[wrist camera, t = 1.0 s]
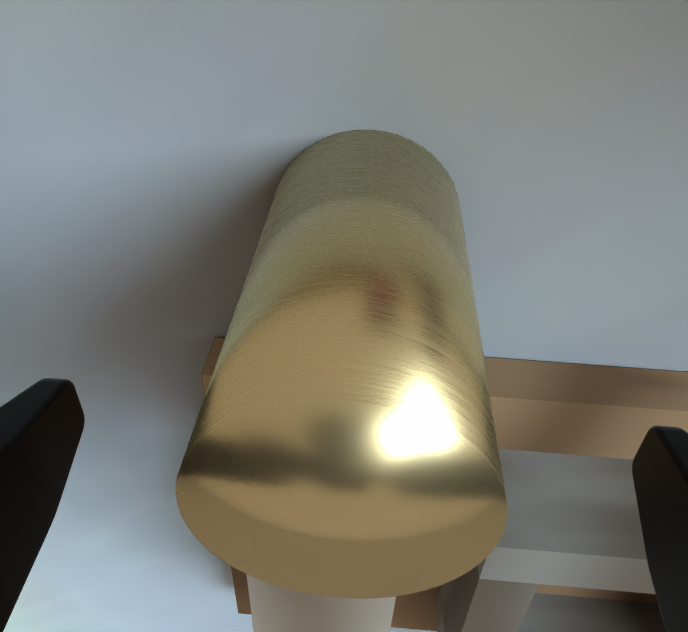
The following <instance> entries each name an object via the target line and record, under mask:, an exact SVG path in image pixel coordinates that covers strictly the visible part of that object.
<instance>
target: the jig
mask: <svg viewBox="0 0 688 632" xmlns="http://www.w3.org/2000/svg"><path fill="white" fill-rule="evenodd" d="M224 341H225V338H218V337H215V339H214V342H213V344H212V347H211V350H210V352H209V355H208V358H207V361H206V363H205V366H204V369H203V371H202V374H201V376H202V382H203V388H204V395H206V392H207V389H208V387H209V384H210V381H211V378H212V375H213V372H214V369H215V366H216V364H217V361H218V358H219V355H220V352H221V349H222V346H223V343H224ZM484 361H485V367H486V373H487V379H488V386H489V392H490V398H491V405H492V411H493V417H494V423H495V430H496V436H497V442H498V449H499V455H500V461H501V467H502V474H503V480H504V486H505V493H506V499H507V522H506V526H505V530H504V532H503V535H502V537H501V539H500V541H499V543H498V544H497V545H496V547H495V548H494V550H493V551H492V552H491V553H490V554H489V555H488V556H487V557H486V558H485V559H484V560H483V561H482V562H481V563H480V564H479V565H477V566H476V567H474V568H473V569H472V570H470V571H469V572H467V573H465V574H464V575H462V576H460V577H458V578H456V579H454V580H452V581H450V582H447V583H445V584H443V585H440V586H437V587H434V588H431V589H428V590H425V591H420V592H416V593H412V594H407V595H400V596H394V597H384V598H370V599H351V598H334V597H326V596H318V595H312V594H307V593H302V592H297V591H293V590H289V589H285V588H281V587H278V586H275V585H272V584H269V583H266V582H264V581H261V580H259V579H257V578H254V577H252V576H249V575H247V574H245V573H243V572H241V571H240V570H238V569H236V568H234V567H232V566H231V569H232V575H233V581H234V588H235V594H236V601H237V607H238V613H242V614H252V621H253V629H254V632H390V628H391V627H397V628H409V629H420V630H431V631H437V632H666V628H665V625H664V621H663V618H662V614H661V611H660V607H659V604H658V600H657V597H656V593H655V590H654V586H653V583H652V579H651V575H650V571H649V568H648V563H647V558H646V552H645V547H644V541H643V535H642V529H641V523H640V517H639V511H638V505H637V499H636V493H635V487H634V481H633V475H632V463H633V459H634V457H635V455H636V453H637V451H638V449H639V447H640V445H641V443H642V441H643V439H644V437H645V435H646V433H647V432H648V430H649V429H650V428H651V427H652V426H656V425H659V426H672V427H679V428H682V429H683V430H685V431H686V432H687V433H688V372H680V371H666V370H652V369H639V368H625V367H612V366H598V365H585V364H571V363H557V362H544V361H530V360H517V359H503V358H490V357H484Z"/></svg>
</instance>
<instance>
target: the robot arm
mask: <svg viewBox="0 0 688 632" xmlns="http://www.w3.org/2000/svg"><path fill="white" fill-rule="evenodd" d="M83 428H84V413H83V410H82V407H81V404H80V401H79V398H78V395H77V392H76V390H75V387H74V385H73V383H72V382H71V381H70V380H67V379H55V378H45V379H42V380H40V381H38V382H37V383H35V384H34V385H32V386H31V387H29V388H28V389H26V390H25V391H23V392H22V393H20V394H19V395H17V396H16V397H14V398H13V399H12V400H10V401H9V402H7V403H6V404H4V405H3V406H1V407H0V632H3V631H4V628H5V626H6V624H7V622H8V619H9V617H10V615H11V613H12V611H13V608H14V606H15V604H16V602H17V599H18V597H19V595H20V593H21V591H22V588H23V586H24V584H25V582H26V580H27V577H28V575H29V573H30V571H31V568H32V566H33V564H34V562H35V560H36V557H37V555H38V553H39V551H40V549H41V546H42V544H43V542H44V540H45V537H46V535H47V533H48V531H49V528H50V526H51V524H52V521H53V519H54V517H55V514H56V511H57V508H58V505H59V503H60V500H61V497H62V493H63V490H64V487H65V484H66V481H67V478H68V475H69V472H70V469H71V466H72V463H73V459H74V456H75V453H76V450H77V447H78V444H79V441H80V438H81V435H82V432H83ZM632 475H633V481H634V487H635V493H636V499H637V505H638V511H639V517H640V523H641V529H642V535H643V541H644V547H645V552H646V558H647V563H648V568H649V571H650V575H651V579H652V583H653V586H654V590H655V593H656V597H657V600H658V604H659V607H660V611H661V614H662V618H663V621H664V625H665V628H666V632H688V433H687V432H686V431H685V430H683V429H682V428H679V427H672V426H659V425H656V426H652V427H651V428H650V429H649V430H648V432H647V433H646V435H645V437H644V439H643V441H642V443H641V445H640V447H639V449H638V451H637V453H636V455H635V457H634V459H633V463H632Z"/></svg>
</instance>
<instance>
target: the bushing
mask: <svg viewBox="0 0 688 632" xmlns="http://www.w3.org/2000/svg"><path fill="white" fill-rule="evenodd" d="M176 496H177V503H178V506H179V509H180V512H181V515H182V517H183V519H184V521H185V522H186V524H187V526H188V528H189V529H190V530H191V532H192V533H193V534H194V535H195V537H196V538H197V539H198V540H199V541H200V542H201V543H202V544H203V545H204V546H205V547H206V548H207V549H208V550H209V551H211V552H212V553H213V554H214V555H216V556H217V557H218V558H220V559H221V560H223V561H224V562H226V563H227V564H229V565H231V566H232V567H234V568H236V569H238V570H240V571H241V572H243V573H245V574H247V575H249V576H252V577H254V578H257V579H259V580H261V581H264V582H266V583H269V584H272V585H275V586H278V587H281V588H285V589H289V590H293V591H297V592H302V593H307V594H312V595H318V596H326V597H334V598H351V599H370V598H384V597H394V596H400V595H407V594H412V593H416V592H420V591H425V590H428V589H431V588H434V587H437V586H440V585H443V584H445V583H447V582H450V581H452V580H454V579H456V578H458V577H460V576H462V575H464V574H465V573H467V572H469V571H470V570H472V569H473V568H474V567H476V566H477V565H479V564H480V563H481V562H482V561H483V560H484V559H485V558H486V557H487V556H488V555H489V554H490V553H491V552H492V551H493V550H494V548H495V547H496V545H497V544H498V543H499V541H500V539H501V537H502V535H503V532H504V530H505V526H506V522H507V499H506V493H505V486H504V480H503V474H502V467H501V461H500V455H499V449H498V442H497V436H496V430H495V423H494V417H493V411H492V405H491V398H490V392H489V386H488V379H487V373H486V367H485V361H484V354H483V348H482V342H481V336H480V329H479V323H478V317H477V310H476V304H475V298H474V292H473V285H472V279H471V273H470V266H469V260H468V254H467V248H466V241H465V235H464V229H463V223H462V216H461V210H460V204H459V199H458V194H457V191H456V188H455V186H454V183H453V181H452V179H451V177H450V176H449V174H448V172H447V171H446V169H445V168H444V167H443V165H442V164H441V163H440V162H439V161H438V160H437V159H436V158H435V157H434V156H433V155H432V154H431V153H430V152H428V151H427V150H426V149H424V148H423V147H422V146H420V145H418V144H417V143H415V142H413V141H411V140H409V139H407V138H404V137H402V136H399V135H396V134H392V133H388V132H384V131H376V130H355V131H347V132H342V133H339V134H335V135H332V136H329V137H327V138H324V139H322V140H320V141H318V142H316V143H315V144H313V145H311V146H309V147H308V148H307V149H306V150H304V151H303V152H302V153H300V154H299V155H298V156H297V157H296V159H295V160H294V161H293V162H292V163H291V164H290V165H289V167H288V168H287V170H286V171H285V173H284V174H283V176H282V178H281V180H280V182H279V185H278V188H277V191H276V194H275V197H274V200H273V202H272V205H271V208H270V211H269V214H268V217H267V220H266V223H265V225H264V228H263V231H262V234H261V237H260V240H259V243H258V246H257V248H256V251H255V254H254V257H253V260H252V263H251V266H250V269H249V271H248V274H247V277H246V280H245V283H244V286H243V289H242V292H241V295H240V297H239V300H238V303H237V306H236V309H235V312H234V315H233V318H232V320H231V323H230V326H229V329H228V332H227V335H226V338H225V341H224V343H223V346H222V349H221V352H220V355H219V358H218V361H217V364H216V366H215V369H214V372H213V375H212V378H211V381H210V384H209V387H208V389H207V392H206V395H205V398H204V401H203V404H202V407H201V410H200V413H199V415H198V418H197V421H196V424H195V427H194V430H193V433H192V436H191V438H190V441H189V444H188V447H187V450H186V453H185V456H184V459H183V461H182V464H181V467H180V470H179V473H178V476H177V483H176Z"/></svg>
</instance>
